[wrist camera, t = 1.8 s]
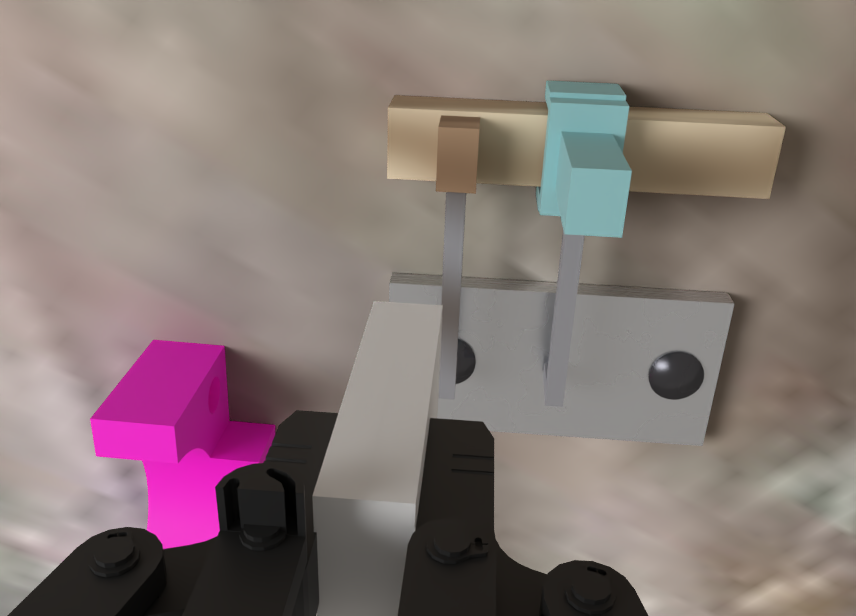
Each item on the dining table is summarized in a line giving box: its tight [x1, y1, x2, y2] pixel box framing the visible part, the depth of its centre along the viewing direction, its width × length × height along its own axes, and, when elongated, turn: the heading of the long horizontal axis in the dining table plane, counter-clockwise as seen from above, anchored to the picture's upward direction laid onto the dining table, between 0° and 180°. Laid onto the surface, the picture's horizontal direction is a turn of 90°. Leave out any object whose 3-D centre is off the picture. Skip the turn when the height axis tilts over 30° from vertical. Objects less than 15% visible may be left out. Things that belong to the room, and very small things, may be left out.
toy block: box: [90, 340, 275, 549], centre depth 42 cm, size 15×6×8 cm, turn 177°
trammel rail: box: [387, 95, 786, 399], centre depth 36 cm, size 13×16×4 cm
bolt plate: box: [389, 273, 734, 446], centre depth 40 cm, size 8×16×1 cm, turn 88°
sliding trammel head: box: [536, 81, 632, 407], centre depth 33 cm, size 14×3×8 cm, turn 178°
